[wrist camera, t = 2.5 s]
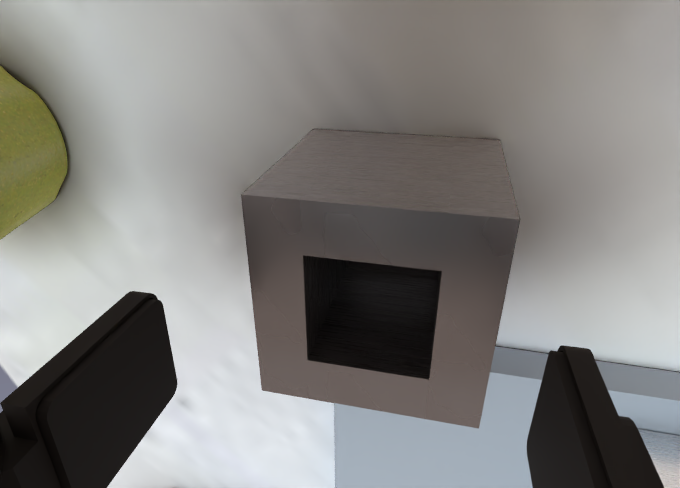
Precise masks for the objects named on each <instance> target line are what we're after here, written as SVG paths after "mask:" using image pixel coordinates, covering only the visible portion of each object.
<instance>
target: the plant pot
mask: <svg viewBox="0 0 680 488" xmlns="http://www.w3.org/2000/svg"><path fill="white" fill-rule="evenodd" d="M66 174H67V153H66V147H65V144H64V140H63V137H62V134H61V132H60V130H59V127H58V125H57V123H56V121H55V119H54V117H53V115H52V114H51V112H50V111H49V109H48V108H47V106H46V105H45V103H44V102H43V101H42V99H41V98H40V97H39V96H38V95H37V94H36V93H35V92H34V91H32V90H31V89H29V88H27V87H26V86H24V85H23V84H21V83H20V82H18V81H17V80H16V79H15V78H13V77H12V76H11V75H10V74H9V73H7V72H6V71H5V70H4V68H3V67H2V66H0V239H2V238H3V237H5V236H6V235H7V234H9V233H10V232H11V231H13V230H14V229H16V228H17V227H18V226H20V225H21V224H23V223H24V222H25V221H27V220H28V219H30V218H31V217H33V216H34V215H35V214H37V213H38V212H39V211H41V210H42V209H44V208H45V207H46V206H48V205H49V204H51V203H52V202H53V201H54V200H55V199H56V196H57V194H58V192H59V189H60V187H61V185H62V183H63V180H64V178H65V176H66Z"/></svg>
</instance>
